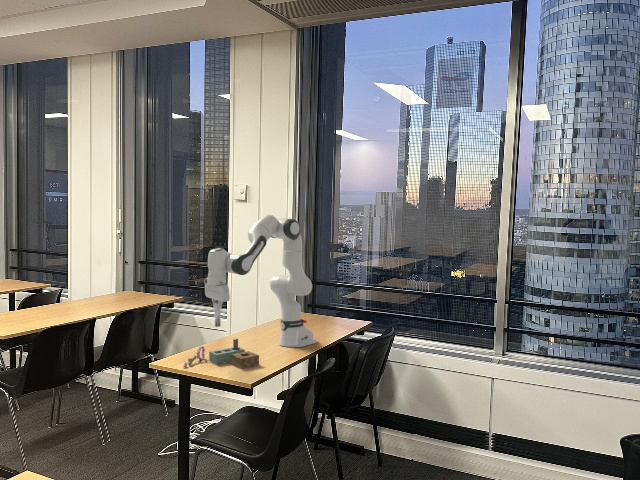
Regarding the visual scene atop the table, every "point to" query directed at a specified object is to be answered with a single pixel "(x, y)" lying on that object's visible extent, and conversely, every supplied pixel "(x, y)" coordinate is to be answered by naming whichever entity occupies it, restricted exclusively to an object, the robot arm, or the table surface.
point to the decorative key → (196, 356)
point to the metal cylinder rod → (217, 314)
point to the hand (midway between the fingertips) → (217, 308)
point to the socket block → (245, 359)
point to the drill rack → (223, 355)
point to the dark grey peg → (235, 344)
